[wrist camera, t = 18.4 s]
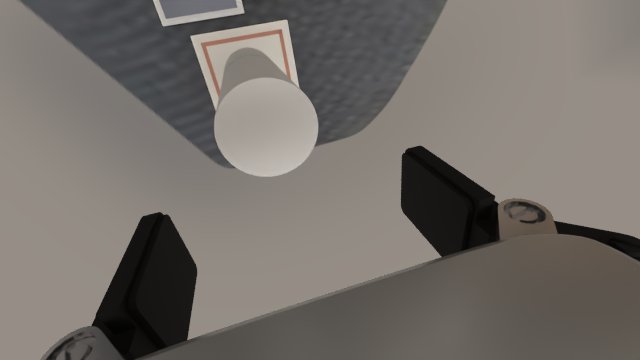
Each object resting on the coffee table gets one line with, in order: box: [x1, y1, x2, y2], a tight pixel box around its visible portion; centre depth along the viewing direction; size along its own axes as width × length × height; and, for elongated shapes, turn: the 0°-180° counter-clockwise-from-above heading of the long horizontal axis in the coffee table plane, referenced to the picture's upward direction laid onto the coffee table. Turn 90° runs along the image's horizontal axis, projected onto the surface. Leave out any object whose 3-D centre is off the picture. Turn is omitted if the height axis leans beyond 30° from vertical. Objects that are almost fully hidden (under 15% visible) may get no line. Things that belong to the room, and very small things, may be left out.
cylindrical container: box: [214, 47, 318, 177], centre depth 30 cm, size 7×7×25 cm
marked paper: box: [190, 20, 299, 110], centre depth 41 cm, size 13×13×1 cm
